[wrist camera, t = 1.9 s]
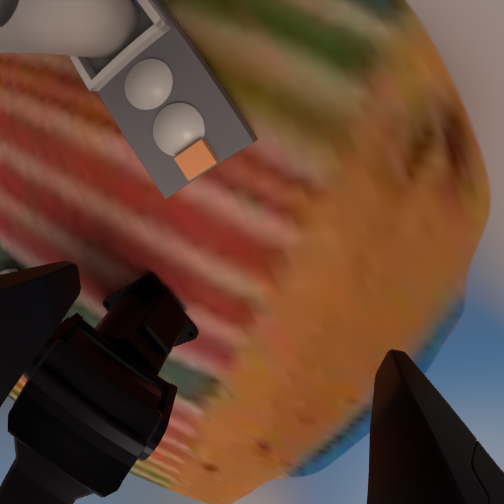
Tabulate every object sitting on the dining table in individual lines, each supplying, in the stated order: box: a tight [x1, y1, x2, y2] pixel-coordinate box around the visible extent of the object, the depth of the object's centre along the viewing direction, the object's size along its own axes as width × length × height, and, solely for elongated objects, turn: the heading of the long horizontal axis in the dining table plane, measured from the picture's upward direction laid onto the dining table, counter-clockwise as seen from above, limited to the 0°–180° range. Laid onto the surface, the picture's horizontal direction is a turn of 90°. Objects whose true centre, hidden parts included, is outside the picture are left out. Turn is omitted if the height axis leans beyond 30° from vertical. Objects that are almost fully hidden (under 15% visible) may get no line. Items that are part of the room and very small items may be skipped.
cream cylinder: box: [0, 0, 142, 59], centre depth 11 cm, size 4×4×9 cm
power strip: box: [69, 0, 258, 199], centre depth 16 cm, size 15×6×2 cm, turn 32°
